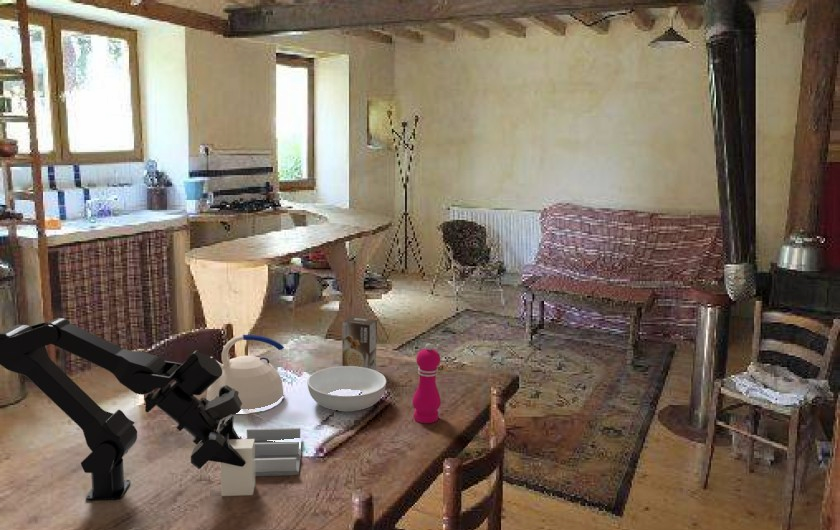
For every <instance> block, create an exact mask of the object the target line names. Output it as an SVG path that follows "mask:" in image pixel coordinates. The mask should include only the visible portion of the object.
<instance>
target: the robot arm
mask: <svg viewBox="0 0 840 530" xmlns="http://www.w3.org/2000/svg"><path fill="white" fill-rule="evenodd" d="M49 345H53V346H55V347H58V348H60V349H61V350H64V351H65V352H68V353H70V354H72V355H74V356H77V357H78V358H81V359H82V360H85V361H87V362H89V363H90V364H91V363H92V365H93V364H94V365H95V366H97V367H99V368H102V369H104V370H106V371H108V372H109V373H111V374H112V375H113V376H114V377H115V378H116V379H117V381H118V382H119V384H121V385H122V386H123V387H125V388H127V389H128V390H130V391H131V392H133V393H134V394H136V395H142V396H143V395H146V396H145V397H144V403H145V407H144V408H145V411H144V412H145V413H149V412H150V411H152V409H154V408H155V407H158V408H159V410H161V411H162V412H163V413H165V414H166V415H167V416H168V417H169V418H170V419H172V420H173V421H174V422H175V423H177V425H176V429H177V430H178V431H179V432H181V431H182V430H183V429H184V430H185V431H186V432H187V433H188V434H190V436H192V437H193V440H192V443H194V444H195V446H194V447H193V450H192V452H191V455H190V464H192V465H193V466H194V467H195V468H197V469H198V470H201V469H202V467H203V466H205V464H207V463H208V462H209V461H210V462H215V463H220V464H221V463H226V464H231V465H235V466H240V467H243V466H244V465H245V464H246V462H245V460H244V459H243V458H242V457H241V456H240V455H239V454H238V452H237V451H236V450H235V449H234V448H233V447H232V446H231V445H230V443H229V439H241V438H240V437H239V435H238V434H237V431H236V429H235V428H234V425H235V424H234V423H235V421H234V420H235V417H234V415H235V414H236V413H238V412H239V411H240V410H241V408H240V407H241V405H242V402H241V400H240V398H239V396H238V394H239V392H238V391H236V390H235V389H232V388H230V387H229V386H228V385H225V386H223V387H221V388H220V390H219V397H218V396H216V397H215V399H213V400H211V401H208V400H207V397H201V398H197V396H200V395H202V394H203V393H204V392H205V391H207V388H208V387H210V386H211V385H212V384H213V383H214V382H215V381H216V380H217V379H218V378H219V377H220V376H221V375H222V369H221V367H220V365H219V363H220V362H219V361H218V360H217V359H215V358H214V357H212V356H209V355H207V354H205V353H201V352H199V350H198V349H197V350H194V351H193V353H191V354H190V355H189V356H188V358H187V359H186V360H185V361H184V362H183V363H180V362H175V361H167V360H164V359H163V358H162V357H160V356H158V355H155V354H152V353H148V352H145V351H139V350H138V351H136V350H129V349H126V348H123V347H120V345H119V346H118V345H116V344H114V343H112V342H110V341H108V340H106V339H104V338H102V337H101V336H98V335H96V334H93V333H92V332H89V331H87V330H85V329H83V328H81V327H80V326H77V325H75V324H73V323H71V322H70V321H69V320H68V319H66V318H63V317H62V318H61V317H56V318H54V319H52V320H49V321H43V322H40V323H36V324H33V325H28V324H17V325H14V326H12V327H9V328H8V329H5V330H4V331H1V332H0V366H1V367H3V368H4V369H5V370H7V371H10V372H12V373H16V374H19V375H22V376H24V377H26V378H28V380H29V381H31V383H33V384H34V385H35V386H36V387H37V388H38V389H39V390H40V391H41V392H42V393H44V395H45V396H47V398H48V399H50V400H51V401H52V402H53V403H54V404H55V405H56V406H57V407H58V408H59V409H60V410H61V411H62V412H63V413H65V415H67V416H68V417H69V418H70V419H71V421H73V422H74V423H75V424H76V425H77V426H78V427H79V428H80V429H81V430H82V433H83V436H84V439H85V442H86V445H87V447H88V448H89V450H90V451H91V452H90V453H89V454H88V455H87V456H86V457H85V458H84V459H83V460H82V461H81V462H80V465H81V468H82V469H83V472H84V473H85V474H86V473H87V474H90V475H91V489H90V490H89V492H88V493H87V494H86V495H85V501H97V500H120V499H122V497H123V496H124V495H125V493H126V491H127V490H128V487H129V486H130V484H131V479H125V471H124V468H125V467H124V458H123V457H124V456H125V455H127V453H128V452H129V451H130V450H131V448H132V447H133V446H134V445H135V444H136V442H137V439H138V430H137V428H136V427H135V425H134V424H135V421H133V420H131V419H130V418H128V417H127V416H126V415H125V412H123V411H122V410H121V409H117V410H116V411H115V412H114V413H112V412H110V411H106V410H104V409H103V408H102V407H101V406H100V405H98V404H97V403H96V402H95V401H94V400H93V399H92V398H91V397H90V396H89V395H88V394H87V392H85V391H84V390H83V389H82V388H81V387H80V386H79V385H78V384H77V383H76V382H75V381H74V380H73V379H71V377H69V375H68V374H66V373H65V372H64V371H63V370H62V369H61V368H60V367H59V366H58V365H57V364H56V363H55V362H54V361H53V360H52V359H51V357H50V356H49V353H48V349H47V347H46V346H49ZM211 357H212V358H211ZM217 361H218V362H219V363H218V362H217ZM172 380H174V381H173V382H172ZM170 382H172V383H170ZM157 389H158V390H157ZM154 390H156V392H153V391H154ZM152 392H153V393H152ZM229 416H230V418H228V419H227V417H229Z"/></svg>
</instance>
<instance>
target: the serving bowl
mask: <svg viewBox="0 0 840 530" xmlns="http://www.w3.org/2000/svg"><path fill="white" fill-rule="evenodd" d="M306 383H307V389H308V392H309V395H310V396H311V398H312V399H313V400H314V402H316V403H317V404H318V405H320V406H322V407H323V408H326V409H328V410H331V409H333V411H336V410H338V411H337V412H339V411H340V412H355V411H354V410H357V411H361V410H360V409H362V410H365V409H368V408H370V407H372V406H373V405H375V404H376V403H378V402H379V401H380V399H381V398H382V397H383V395H384V393H385V391H386V386H387V378H386V377H385V376H384V374H383V373H381V372H379V371H378V370H376V371H375V370H372V369H368V368H364V367H356V366H342V365H340V366H331V367H326V368H323V369H320V370H317V371H315V372H313V373H312V374H310V376H308V379H307V382H306ZM339 389H340V390H341V389H351V390H360V391H361V392H363V393H364V394H362V395H355V396H338V395H331V394H328V393H330V392H333V391H336V390H339ZM364 408H365V409H364Z"/></svg>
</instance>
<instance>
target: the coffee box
mask: <svg viewBox="0 0 840 530" xmlns="http://www.w3.org/2000/svg"><path fill="white" fill-rule="evenodd" d="M377 324H378V320H377V319H370V318H363V317H354V316H349V317H347V318H346V319H344V320H343V322H342V329H341V330H342V336H341V337H342V341H341V342H342V343H341V344H342V348H341V349H342V358H341V359H342V364H341V366H356V367H364V368H368V369H372V370H375V371H377V326H378V325H377Z"/></svg>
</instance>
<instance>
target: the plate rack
mask: <svg viewBox="0 0 840 530" xmlns="http://www.w3.org/2000/svg"><path fill="white" fill-rule="evenodd" d="M294 438H301V427H281V428H280V427H275V428H274V427H273V428H271V427H270V428H247V429H246V439H255V477H269V476H271V477H272V476H273V477H274V476H277V477H278V476H299V474H300V467H301V466H300V465H301V460H302V459H301V457H302V451H301V450H300V449H299V442H275V441H274V442H273V441H267V440H281V439H282V440H284V439H294Z"/></svg>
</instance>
